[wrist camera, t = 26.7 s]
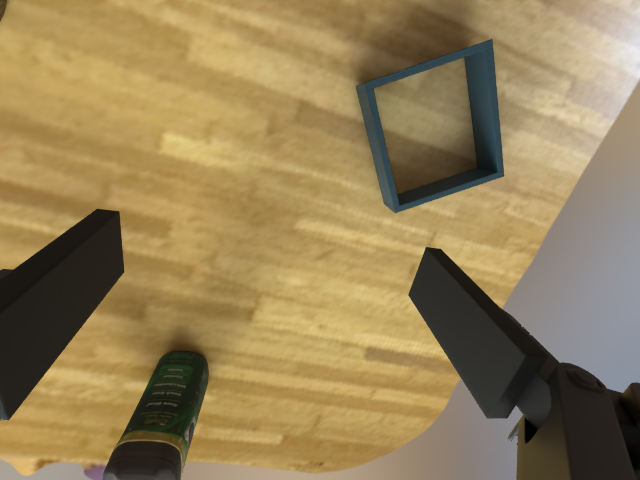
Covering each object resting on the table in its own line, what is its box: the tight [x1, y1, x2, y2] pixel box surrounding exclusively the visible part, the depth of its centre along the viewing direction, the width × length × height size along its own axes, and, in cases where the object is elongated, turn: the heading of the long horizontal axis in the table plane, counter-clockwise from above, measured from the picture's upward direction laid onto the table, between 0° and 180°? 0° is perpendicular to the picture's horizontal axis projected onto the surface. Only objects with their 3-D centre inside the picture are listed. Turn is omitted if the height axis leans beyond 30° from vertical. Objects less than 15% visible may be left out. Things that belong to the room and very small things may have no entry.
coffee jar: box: [103, 352, 209, 480], centre depth 42 cm, size 10×8×19 cm
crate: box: [356, 39, 504, 213], centre depth 39 cm, size 16×15×4 cm
